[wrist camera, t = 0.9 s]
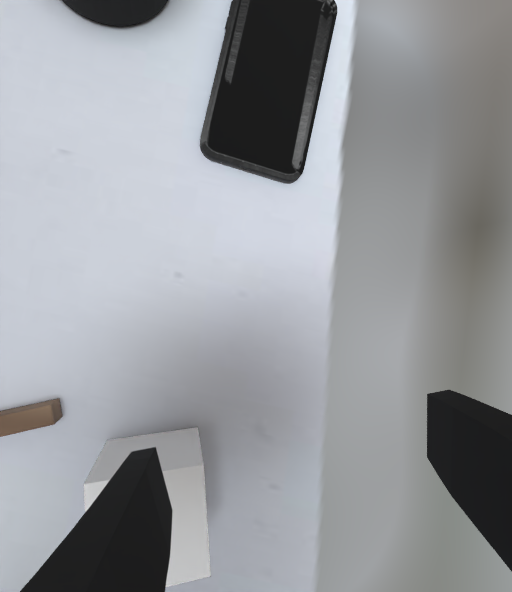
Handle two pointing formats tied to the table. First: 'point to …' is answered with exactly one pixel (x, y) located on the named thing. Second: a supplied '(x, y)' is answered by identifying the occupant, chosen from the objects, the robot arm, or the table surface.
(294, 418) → the table surface
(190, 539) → the white cube
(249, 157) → the phone
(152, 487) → the robot arm
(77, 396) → the table surface
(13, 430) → the u-shaped frame
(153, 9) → the pen holder
